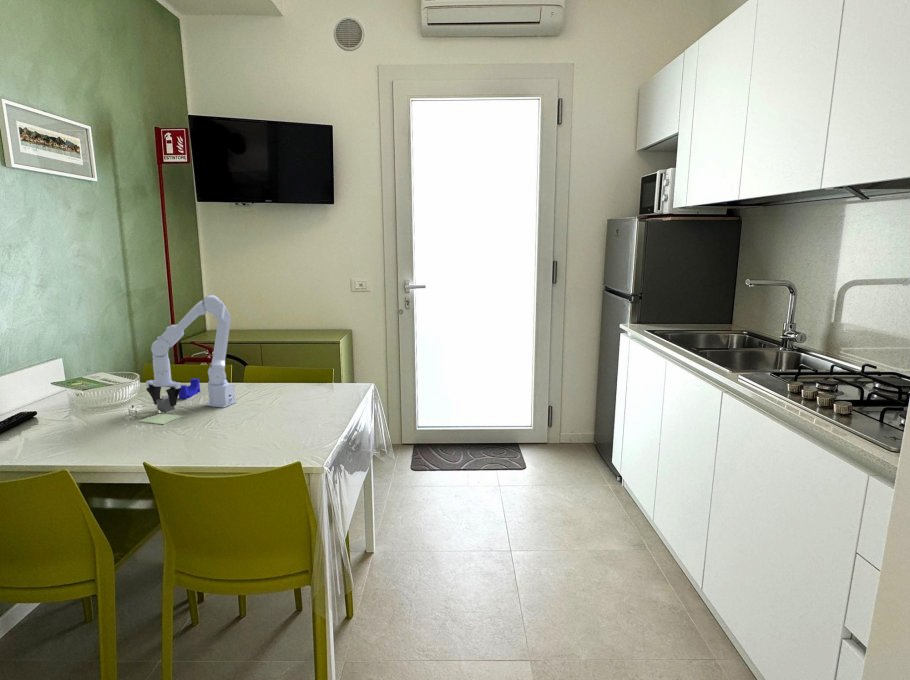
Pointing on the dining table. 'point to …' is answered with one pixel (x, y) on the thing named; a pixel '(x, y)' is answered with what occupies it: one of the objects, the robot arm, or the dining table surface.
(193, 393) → the blue u-shaped block
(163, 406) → the dark grey block
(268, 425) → the dining table surface
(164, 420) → the sage mat
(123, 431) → the dining table surface
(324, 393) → the dining table surface
